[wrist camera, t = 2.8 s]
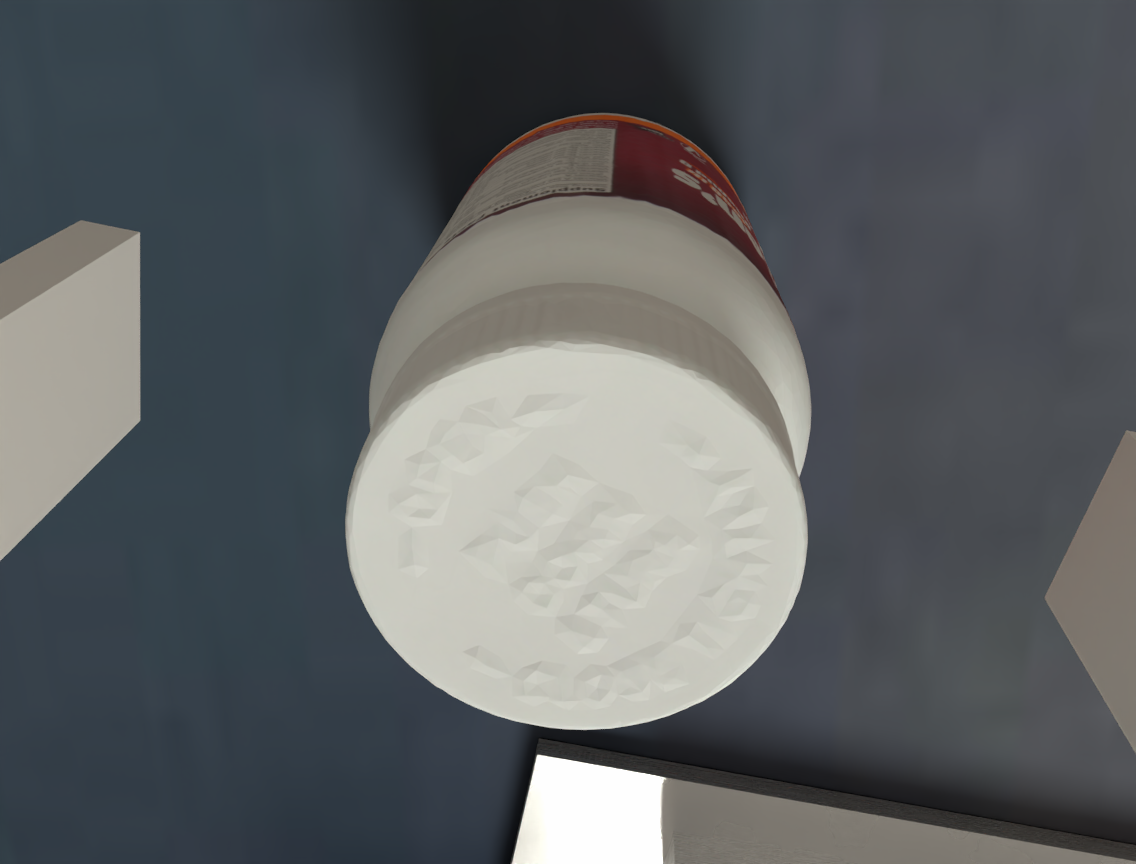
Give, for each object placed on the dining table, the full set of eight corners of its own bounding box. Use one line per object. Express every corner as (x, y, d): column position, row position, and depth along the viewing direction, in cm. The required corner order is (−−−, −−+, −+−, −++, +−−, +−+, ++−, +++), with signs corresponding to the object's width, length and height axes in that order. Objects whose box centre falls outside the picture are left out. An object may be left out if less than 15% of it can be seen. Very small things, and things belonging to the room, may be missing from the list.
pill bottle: (799, 314, 22) (952, 652, 12) (547, 439, 23) (489, 834, 13) (662, 44, 20) (704, 169, 9) (394, 202, 21) (182, 458, 11)
